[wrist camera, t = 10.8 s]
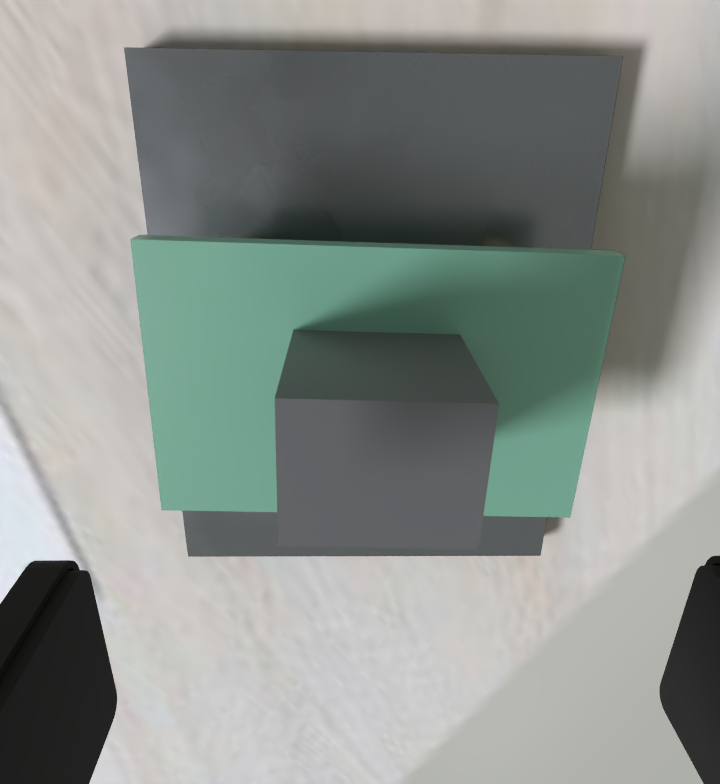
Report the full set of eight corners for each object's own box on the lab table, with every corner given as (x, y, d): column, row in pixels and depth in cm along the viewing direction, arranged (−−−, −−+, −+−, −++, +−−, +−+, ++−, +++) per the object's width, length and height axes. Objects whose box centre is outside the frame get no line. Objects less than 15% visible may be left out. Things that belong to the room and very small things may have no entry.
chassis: (136, 52, 20) (70, 26, 15) (607, 60, 20) (687, 37, 16) (194, 539, 28) (163, 623, 23) (532, 539, 28) (570, 621, 24)
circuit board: (168, 496, 21) (107, 620, 16) (139, 234, 17) (48, 279, 12) (562, 504, 21) (634, 627, 16) (613, 250, 18) (728, 300, 12)
